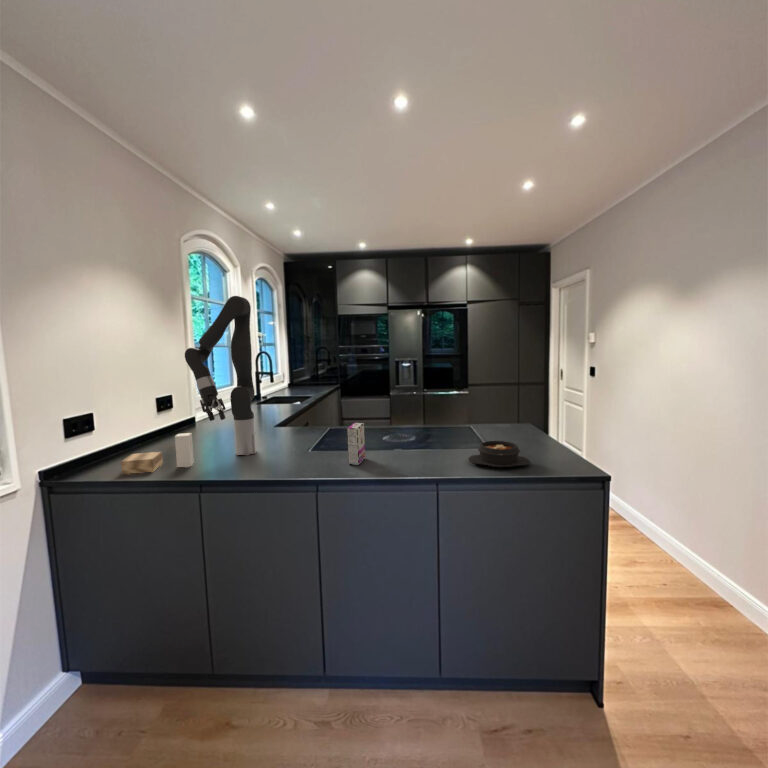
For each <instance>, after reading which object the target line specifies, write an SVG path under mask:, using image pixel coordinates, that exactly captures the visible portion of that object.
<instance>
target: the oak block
mask: <svg viewBox="0 0 768 768" xmlns="http://www.w3.org/2000/svg"><path fill="white" fill-rule="evenodd" d="M163 463H164V461H163V452H162V451H151V452H142V453H141V452H140V453H131V454H130V455H128V456H127V457H126V458H124V459H122V460H121V461H120V467H121V475H122V474H127V475H131V474H130V473H139V474H143V473H142V472H151V473H155V472H156V471H157V470H158V469H159V468H160V467H161V466H163V465H164V464H163ZM159 466H160V467H159ZM158 467H159V468H158ZM157 468H158V469H157ZM156 469H157V470H156ZM155 470H156V471H155ZM154 471H155V472H154Z"/></svg>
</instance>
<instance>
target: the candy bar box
mask: <svg viewBox="0 0 768 768" xmlns="http://www.w3.org/2000/svg"><path fill="white" fill-rule="evenodd" d="M346 432H347V434H346V435H347V449H348V450H347V451H348V455H347V456H348V464H349V463H360V462H361V461H362V459H363V458H364V457H365V458H366V444H365V443H366V442H365V440H366V439H365V423H364V422H363V423H362V422H354V423H352V424H351V425H350V426H349V427H347V428H346Z"/></svg>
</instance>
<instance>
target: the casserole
mask: <svg viewBox="0 0 768 768" xmlns="http://www.w3.org/2000/svg"><path fill="white" fill-rule="evenodd" d="M477 450H478V451H479V454H475V455H473V454H472V455H470V456H469V457H468V459H467V460H468V461H469V462H470V463H472V464H477V465H483V466H487V465H488V466H487V467H490V466H494V467H508V468H513V467H518V466H527V465H529V464H531V461H530V459H528V458H527V457H525V456H522V455H521V456H520V455H519V453H520V452H521V451H520V450H521V449H519V447H518V444H516V443H514V442H510V441H504V440H489V441H483V442H481V443H480V445H479V447H478V448H477ZM494 467H493V468H494Z"/></svg>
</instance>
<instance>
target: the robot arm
mask: <svg viewBox="0 0 768 768" xmlns="http://www.w3.org/2000/svg"><path fill="white" fill-rule="evenodd" d="M251 306H252V305H251V303H250V302H249V300H248V299H247V298H245V297H243V296H240V295H232V296H230V297H229V298H228V299H227V300H226V302H225V304H224V305H223V307H222V309H221V310H220V312H219V313H218V315H217V317H216V318H215V320H214V321H213V322H212V324H211V325H210V326H209V328H208V329H207V330H206V331H205V332H204V334H203V335H202V336H201V337H200V338H199V340H198V343H199V347H197V348H196V347H189V348H186V350H185V351H184V359H185V362H186V364H187V365H188V367H189V369H190V370H191V372H192V373H193V375H194V378H195V379H194V380H195V381H196V386H197V390H198V393H199V395H200V398H201V399H200V400H199V403H200V406H201V409H202V412H203V413H206V415H207V416H208V419H209V421H210V422H212V421H214V420H215V419H216V418H215V416H214V412H213V409H214V410H215V411H217V413H218V416H219V418H220V421H223V420H226V414H225V411H226V406H225V403H224V401H223V399H222V398H221V397H220V398H218V395H219V393H218V389H217V386H216V384H215V381H214V379H213V377H212V374H211V371H210V368H209V367H208V366H207V365H205V364H204V363H206V361H207V360H208V359H209V357H210V354H211V353H212V351H213V349H214V347H216V345H217V344H218V343H219V341H220V340H221V339H222V338H223V335H224V334H225V332H226V330H227V328H228V327H229V325H230V323H232V322H234V330H233V334H232V338H231V340H230V341H231V342H230V354H231V355H230V356H231V361H232V364H233V368H234V370H235V374H236V387H234V388H232V390H231V392H230V398H229V399H230V408H231V414H232V416H233V428H234V430H233V431H234V445H235V455H236V456H238V455H246V456H250V454H252V455H255V454H256V453H257V438H256V431H255V430H256V429H255V415H254V412H253V410H252V405H251V402H252V401H253V400H254V398H255V388H254V380H253V362H252V360H253V359H252V342H251V341H252V340H251V327H250V326H251V311H252V310H251Z"/></svg>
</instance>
